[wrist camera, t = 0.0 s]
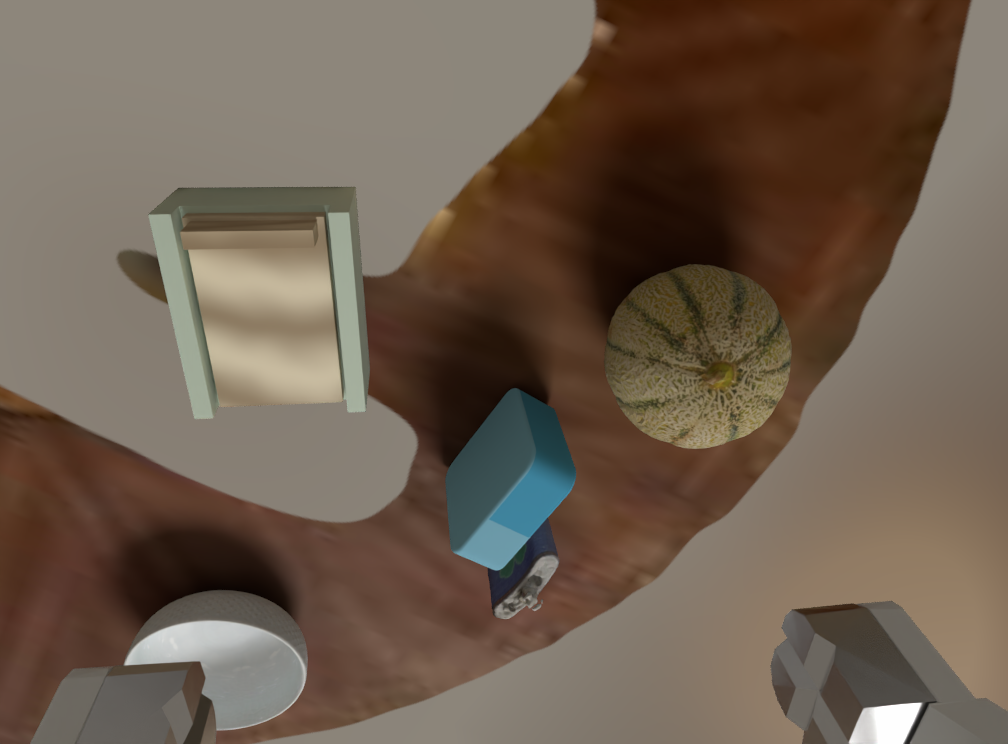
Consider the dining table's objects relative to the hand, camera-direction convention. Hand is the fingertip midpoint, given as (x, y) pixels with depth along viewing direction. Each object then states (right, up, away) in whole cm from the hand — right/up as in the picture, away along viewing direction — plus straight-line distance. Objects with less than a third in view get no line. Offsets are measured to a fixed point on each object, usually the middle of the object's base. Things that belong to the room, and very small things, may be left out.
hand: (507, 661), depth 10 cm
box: (-18, +11, +47) cm, 51 cm away
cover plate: (-17, +9, +42) cm, 47 cm away
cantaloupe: (+15, +9, +53) cm, 55 cm away
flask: (+1, -12, +62) cm, 63 cm away
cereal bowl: (-29, -22, +64) cm, 74 cm away
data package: (-1, -2, +57) cm, 57 cm away
